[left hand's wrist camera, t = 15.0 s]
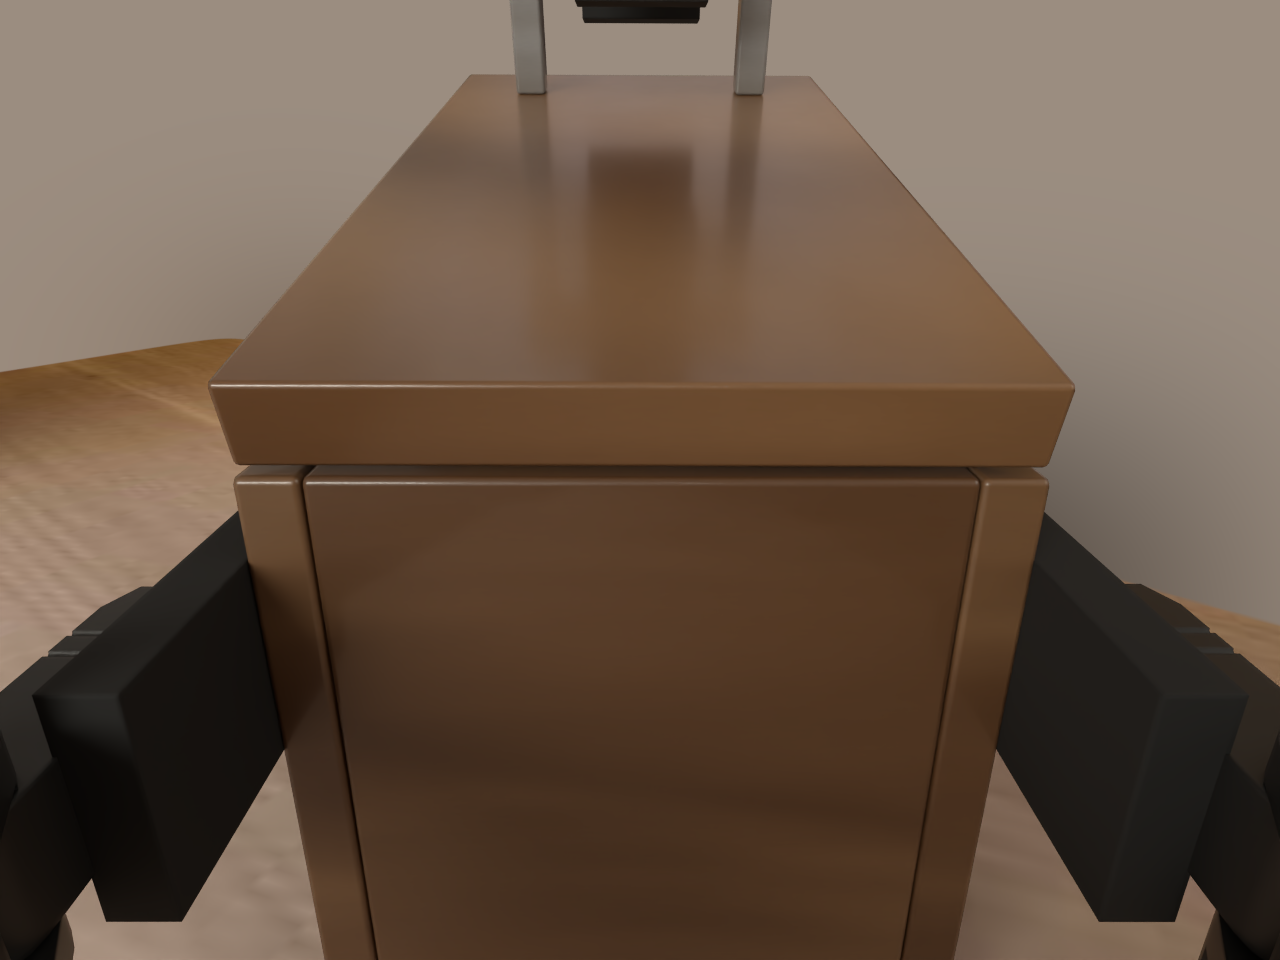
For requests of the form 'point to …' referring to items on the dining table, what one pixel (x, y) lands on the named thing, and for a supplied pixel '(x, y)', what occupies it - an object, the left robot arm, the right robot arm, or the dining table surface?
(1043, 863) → the dining table surface
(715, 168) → the lid
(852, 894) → the chest
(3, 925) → the left robot arm
